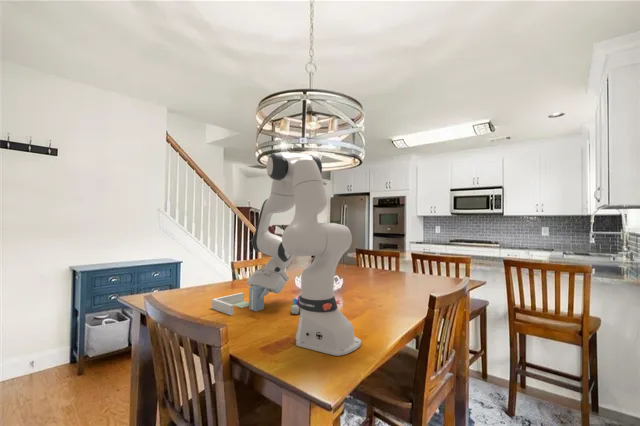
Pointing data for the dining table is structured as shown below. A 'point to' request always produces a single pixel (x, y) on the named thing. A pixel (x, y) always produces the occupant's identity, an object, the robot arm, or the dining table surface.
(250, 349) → the dining table surface
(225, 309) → the side wall
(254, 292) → the block
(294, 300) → the colourful small cluster
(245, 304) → the pad
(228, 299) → the back wall
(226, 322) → the dining table surface
